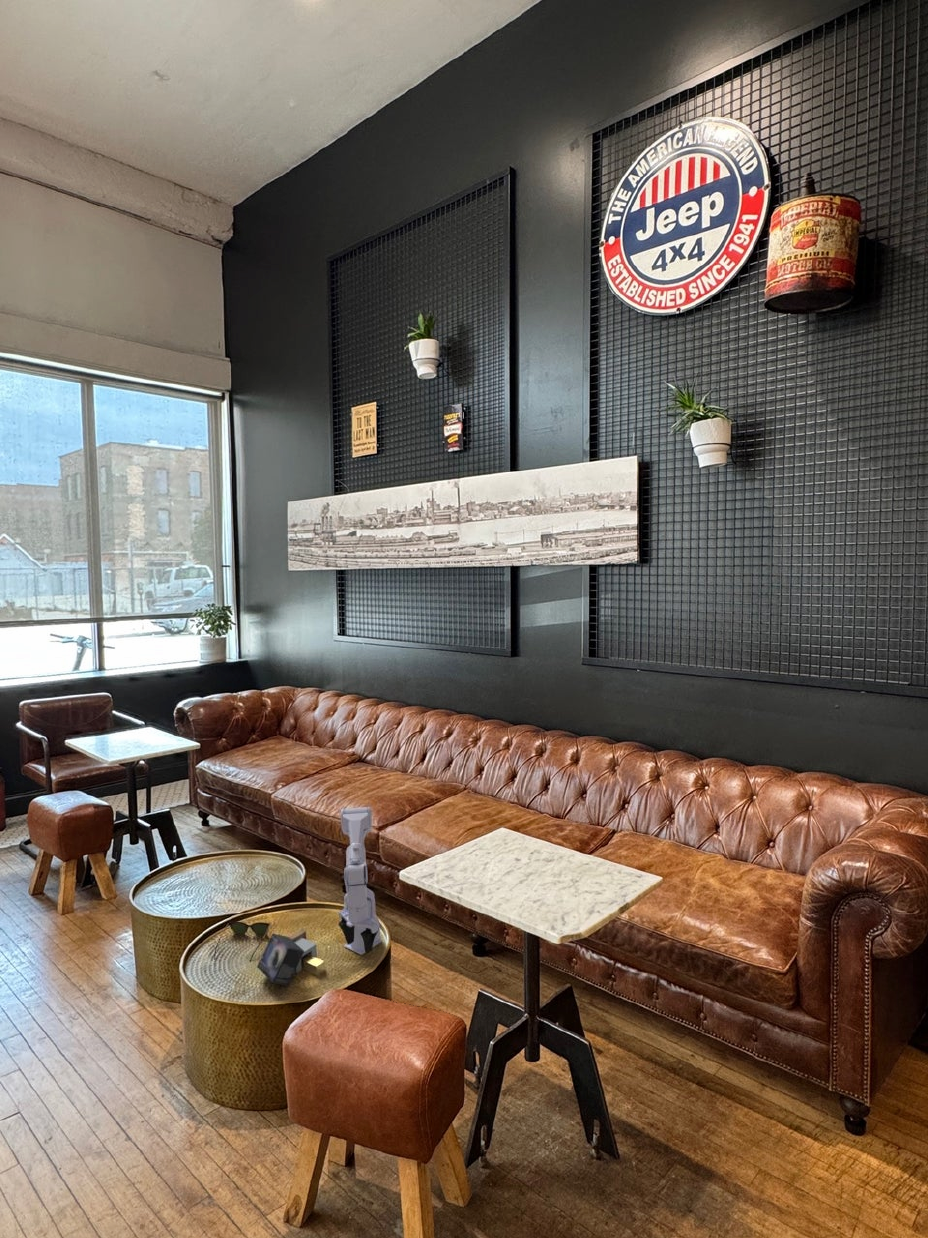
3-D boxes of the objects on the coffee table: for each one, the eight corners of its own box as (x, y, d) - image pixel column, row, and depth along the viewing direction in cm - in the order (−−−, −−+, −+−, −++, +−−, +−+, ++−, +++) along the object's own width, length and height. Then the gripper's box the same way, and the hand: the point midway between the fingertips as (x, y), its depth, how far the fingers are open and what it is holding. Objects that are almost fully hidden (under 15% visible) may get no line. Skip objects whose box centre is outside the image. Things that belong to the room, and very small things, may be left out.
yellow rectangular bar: (302, 960, 227) (301, 950, 227) (324, 971, 222) (324, 961, 221) (294, 965, 225) (293, 956, 224) (317, 976, 219) (316, 966, 219)
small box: (255, 966, 218) (271, 932, 221) (272, 970, 222) (288, 936, 225) (271, 983, 210) (288, 947, 213) (289, 986, 214) (305, 951, 217)
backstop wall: (302, 946, 234) (301, 929, 233) (306, 949, 233) (305, 931, 232) (269, 967, 224) (268, 948, 223) (273, 969, 223) (272, 951, 222)
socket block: (301, 952, 231) (300, 937, 231) (317, 959, 227) (316, 944, 227) (280, 965, 224) (279, 950, 224) (296, 973, 220) (295, 957, 220)
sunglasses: (271, 936, 242) (270, 922, 240) (254, 966, 227) (253, 952, 226) (229, 934, 243) (228, 921, 242) (210, 965, 229) (208, 950, 228)
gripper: (330, 902, 215) (332, 945, 217) (365, 918, 207) (367, 962, 208) (347, 892, 221) (350, 934, 223) (382, 907, 212) (384, 950, 214)
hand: (359, 947), depth 216 cm, fingers open, 7 cm apart
